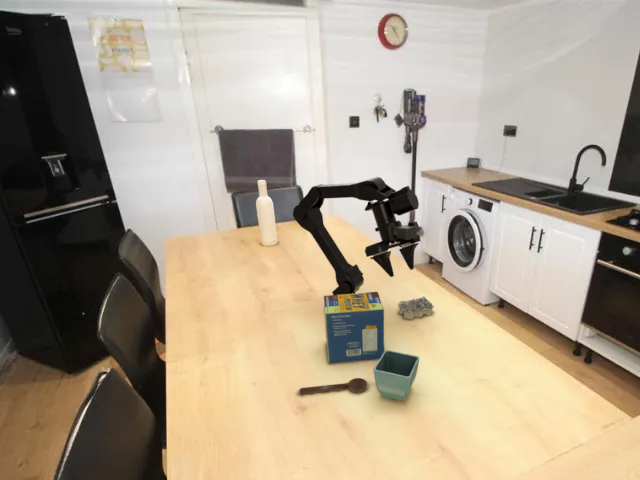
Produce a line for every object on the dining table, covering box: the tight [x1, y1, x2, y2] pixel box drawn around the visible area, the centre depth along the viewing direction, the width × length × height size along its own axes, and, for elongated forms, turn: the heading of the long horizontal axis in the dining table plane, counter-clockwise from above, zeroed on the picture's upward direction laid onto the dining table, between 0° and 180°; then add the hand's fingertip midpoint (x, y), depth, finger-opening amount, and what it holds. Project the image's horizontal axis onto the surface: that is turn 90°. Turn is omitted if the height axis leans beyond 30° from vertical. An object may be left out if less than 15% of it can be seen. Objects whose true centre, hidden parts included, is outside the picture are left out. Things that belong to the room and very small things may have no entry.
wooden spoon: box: [298, 377, 368, 395], centre depth 100 cm, size 16×5×1 cm, turn 100°
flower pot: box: [373, 349, 420, 402], centre depth 97 cm, size 9×9×9 cm
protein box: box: [323, 291, 385, 364], centre depth 112 cm, size 10×15×16 cm
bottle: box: [255, 179, 279, 247], centre depth 192 cm, size 8×8×30 cm
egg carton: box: [397, 296, 435, 320], centre depth 134 cm, size 11×8×4 cm
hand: (402, 273), depth 118 cm, fingers open, 9 cm apart
